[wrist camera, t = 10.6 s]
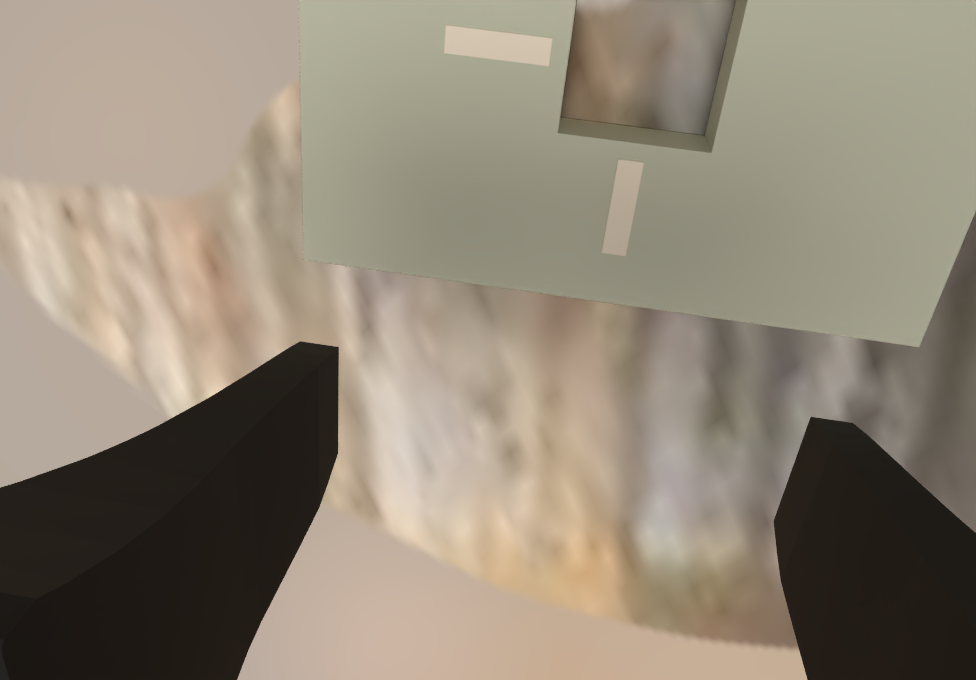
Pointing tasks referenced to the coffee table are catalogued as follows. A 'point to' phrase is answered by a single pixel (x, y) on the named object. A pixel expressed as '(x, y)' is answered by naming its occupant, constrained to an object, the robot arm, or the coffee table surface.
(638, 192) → the plate
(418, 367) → the coffee table surface
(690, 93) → the coffee table surface
